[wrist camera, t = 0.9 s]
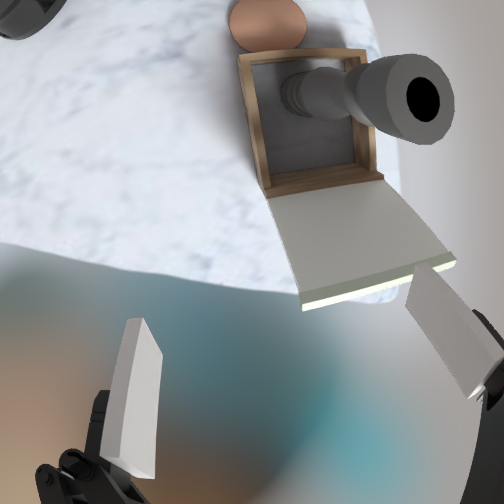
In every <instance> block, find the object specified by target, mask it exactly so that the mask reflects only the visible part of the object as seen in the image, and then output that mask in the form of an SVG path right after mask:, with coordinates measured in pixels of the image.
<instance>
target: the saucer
mask: <svg viewBox="0 0 504 504" xmlns="http://www.w3.org/2000/svg"><path fill="white" fill-rule="evenodd" d="M229 25H230V31H231V33H232V36H233V37H234V39H235V40H236V42H237V43H238V44H239V45H240V46H241V47H243V48H244V49H246V50H248V51H249V52H252V53H255V52H264V51H274V50H287V49H294V48H295V47H297V46H298V45H299V44H300V43H301V41H302V40H303V38H304V36H305V34H306V29H307V23H306V18H305V15H304V13H303V12H302V10H301V8H300V7H299V6H298V5H297V4H296V3H295V2H294V1H292V0H240V1H239V2H238V3H237V4H236V5H235V6H234V8H233V10H232V12H231V16H230V22H229Z"/></svg>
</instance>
